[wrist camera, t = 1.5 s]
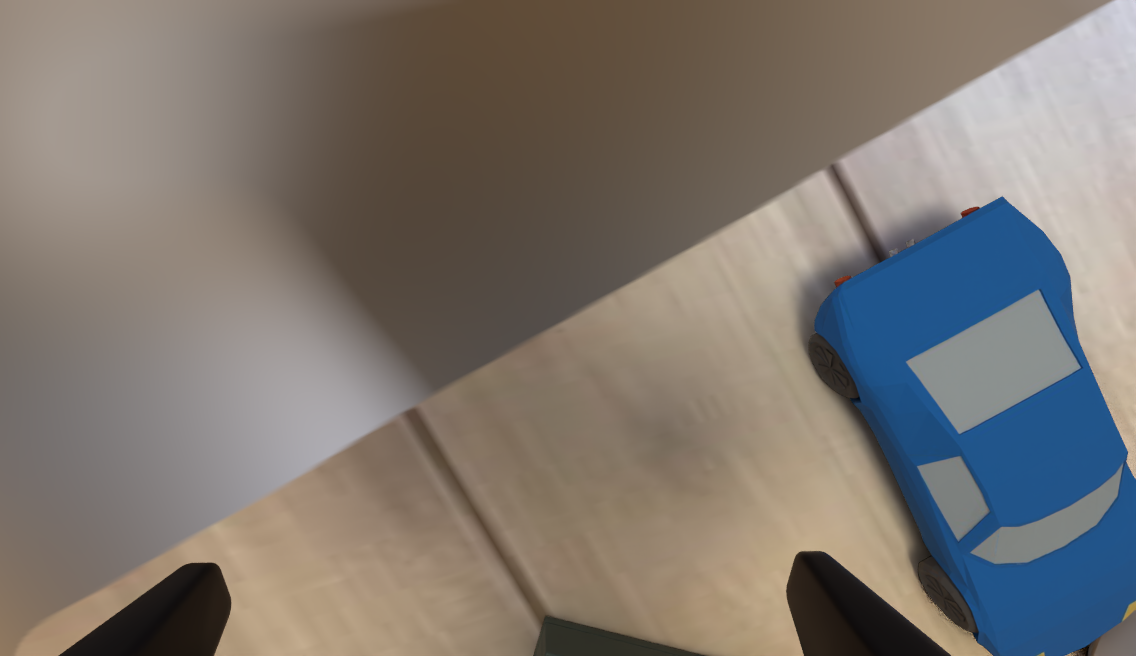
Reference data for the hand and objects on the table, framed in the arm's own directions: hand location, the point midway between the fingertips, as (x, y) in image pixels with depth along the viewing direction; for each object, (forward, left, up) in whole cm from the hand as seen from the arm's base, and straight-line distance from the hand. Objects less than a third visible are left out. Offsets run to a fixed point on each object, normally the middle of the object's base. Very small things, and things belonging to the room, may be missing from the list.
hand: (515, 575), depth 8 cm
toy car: (+6, -19, -16) cm, 26 cm away
